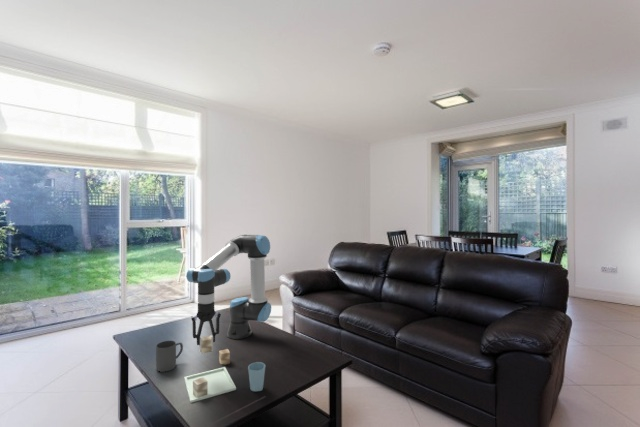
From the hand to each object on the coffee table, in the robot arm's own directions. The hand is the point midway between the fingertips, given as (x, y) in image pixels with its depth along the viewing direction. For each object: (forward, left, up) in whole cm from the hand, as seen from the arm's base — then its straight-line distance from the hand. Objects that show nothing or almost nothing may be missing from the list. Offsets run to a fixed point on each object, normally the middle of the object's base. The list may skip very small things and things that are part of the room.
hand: (206, 350), depth 150 cm
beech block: (0, 0, 0) cm, 0 cm away
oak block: (-11, -10, -13) cm, 20 cm away
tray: (0, +8, -13) cm, 15 cm away
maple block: (+5, +15, -12) cm, 20 cm away
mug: (+14, -20, -13) cm, 28 cm away
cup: (-18, +22, -13) cm, 31 cm away
